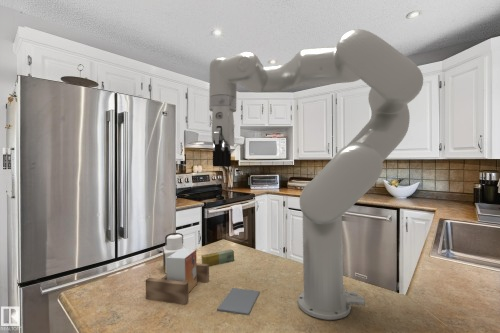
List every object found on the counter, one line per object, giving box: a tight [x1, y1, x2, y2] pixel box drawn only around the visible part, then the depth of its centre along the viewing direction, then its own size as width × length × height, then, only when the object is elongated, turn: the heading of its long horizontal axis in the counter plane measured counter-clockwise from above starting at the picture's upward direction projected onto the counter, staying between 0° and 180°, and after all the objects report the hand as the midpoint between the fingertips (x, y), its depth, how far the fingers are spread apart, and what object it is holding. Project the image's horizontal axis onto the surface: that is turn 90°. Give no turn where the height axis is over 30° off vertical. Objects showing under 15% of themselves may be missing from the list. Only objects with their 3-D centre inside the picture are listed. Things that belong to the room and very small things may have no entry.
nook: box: [145, 262, 210, 305], centre depth 72 cm, size 12×14×5 cm
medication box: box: [201, 249, 235, 268], centre depth 91 cm, size 12×3×4 cm, turn 119°
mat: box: [216, 287, 261, 316], centre depth 65 cm, size 8×11×1 cm
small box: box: [166, 248, 198, 294], centre depth 72 cm, size 8×6×10 cm
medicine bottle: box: [162, 232, 186, 275], centre depth 87 cm, size 7×7×12 cm
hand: (222, 166), depth 69 cm, fingers open, 9 cm apart
